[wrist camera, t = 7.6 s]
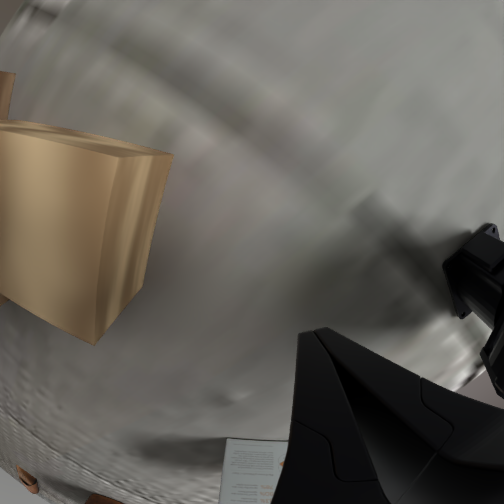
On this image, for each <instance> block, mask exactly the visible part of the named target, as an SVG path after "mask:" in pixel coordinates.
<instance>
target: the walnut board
mask: <svg viewBox="0 0 504 504" xmlns="http://www.w3.org/2000/svg"><path fill="white" fill-rule="evenodd" d="M15 75H16V74H14V73H8V72H2V71H0V120H7V118H8V111H9V105H10V99H11V94H12V89H13V84H14V79H15ZM8 300H9V298H7V297H5V296H4V295H2V294H1V293H0V306H1V305H3V304H4V303H5V302H7V301H8Z"/></svg>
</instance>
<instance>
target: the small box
mask: <svg viewBox="0 0 504 504" xmlns="http://www.w3.org/2000/svg"><path fill="white" fill-rule="evenodd" d="M287 446H288V442H286V441H256V440H241V439H230V438H227V440H226V447H225V454H224V462H223V469H222V477H221V486H220V494H219V502H218V504H270V503H271V500H272V497H273V494H274V491H275V489H276V486H277V483H278V480H279V477H280V474H281V470H282V467H283V463H284V460H285V456H286V452H287Z"/></svg>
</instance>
